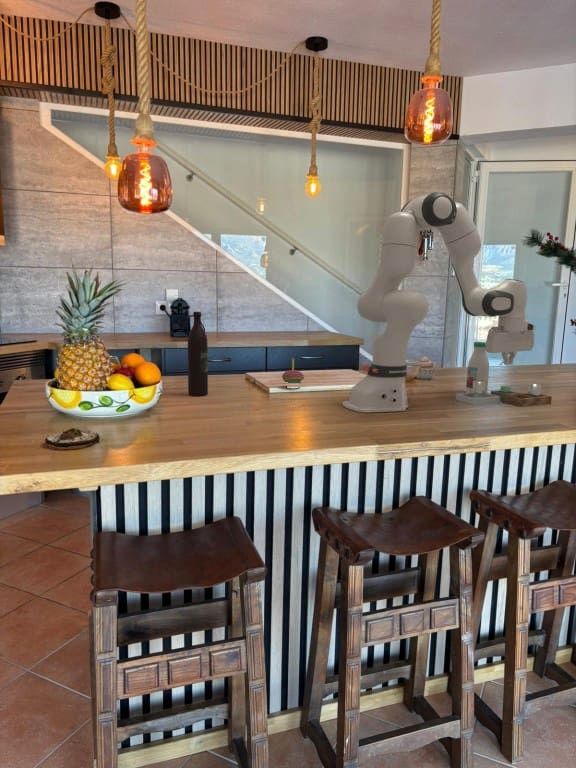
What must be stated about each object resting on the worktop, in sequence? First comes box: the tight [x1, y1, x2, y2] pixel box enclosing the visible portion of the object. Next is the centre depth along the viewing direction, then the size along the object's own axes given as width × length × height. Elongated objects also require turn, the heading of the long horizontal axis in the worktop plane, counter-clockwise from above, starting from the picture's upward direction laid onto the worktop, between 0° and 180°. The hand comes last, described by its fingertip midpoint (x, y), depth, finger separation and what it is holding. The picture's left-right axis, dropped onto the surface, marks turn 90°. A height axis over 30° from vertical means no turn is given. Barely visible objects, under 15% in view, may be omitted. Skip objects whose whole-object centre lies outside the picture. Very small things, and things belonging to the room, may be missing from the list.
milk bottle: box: [465, 341, 490, 393], centre depth 213 cm, size 8×8×20 cm
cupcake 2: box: [417, 355, 436, 381], centre depth 249 cm, size 9×9×10 cm
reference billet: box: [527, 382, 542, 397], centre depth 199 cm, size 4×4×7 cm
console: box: [490, 389, 521, 402], centre depth 205 cm, size 7×7×3 cm
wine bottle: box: [187, 311, 209, 397], centre depth 203 cm, size 7×7×30 cm
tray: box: [455, 392, 501, 406], centre depth 200 cm, size 12×9×2 cm
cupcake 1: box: [281, 358, 305, 384], centre depth 221 cm, size 9×8×12 cm
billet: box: [472, 380, 485, 398], centre depth 200 cm, size 4×4×7 cm
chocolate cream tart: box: [44, 427, 101, 451], centre depth 141 cm, size 15×15×4 cm
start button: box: [500, 385, 512, 394], centre depth 204 cm, size 3×3×3 cm
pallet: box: [501, 392, 553, 408], centre depth 198 cm, size 15×8×3 cm, turn 116°
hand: (508, 364), depth 203 cm, fingers closed
